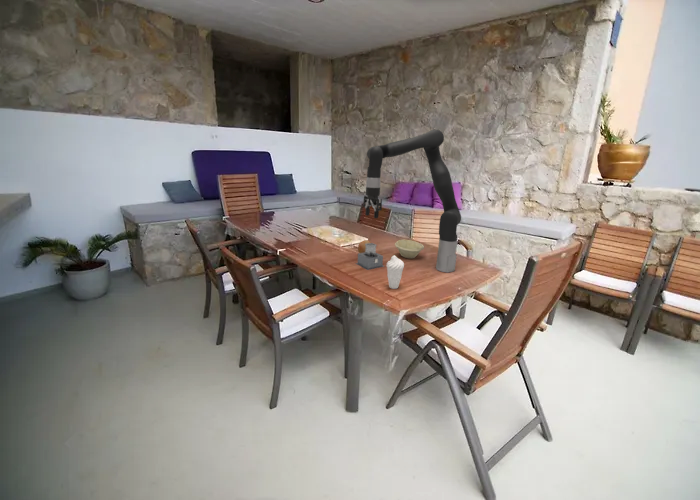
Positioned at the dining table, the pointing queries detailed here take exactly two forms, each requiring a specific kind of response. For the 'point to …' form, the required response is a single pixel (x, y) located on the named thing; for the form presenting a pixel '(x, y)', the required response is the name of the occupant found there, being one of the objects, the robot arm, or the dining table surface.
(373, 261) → the stand
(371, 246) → the translucent grey cylinder
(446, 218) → the robot arm
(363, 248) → the onion
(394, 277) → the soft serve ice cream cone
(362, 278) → the dining table surface
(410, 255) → the bowl
